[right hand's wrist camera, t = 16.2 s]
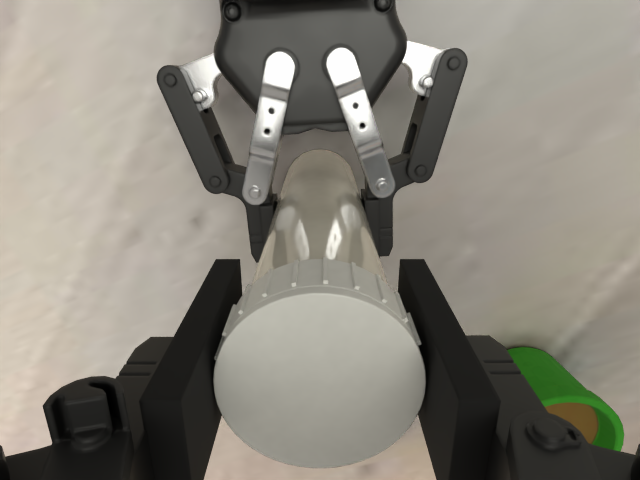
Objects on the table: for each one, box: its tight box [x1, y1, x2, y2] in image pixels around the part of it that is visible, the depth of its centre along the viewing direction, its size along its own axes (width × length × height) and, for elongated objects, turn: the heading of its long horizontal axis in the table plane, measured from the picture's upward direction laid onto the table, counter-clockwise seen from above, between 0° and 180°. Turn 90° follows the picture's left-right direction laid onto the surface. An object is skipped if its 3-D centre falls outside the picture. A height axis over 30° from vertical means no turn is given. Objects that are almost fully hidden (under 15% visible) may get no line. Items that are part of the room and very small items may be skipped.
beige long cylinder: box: [252, 149, 388, 285], centre depth 20 cm, size 4×4×19 cm
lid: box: [213, 257, 426, 468], centre depth 11 cm, size 5×5×2 cm
